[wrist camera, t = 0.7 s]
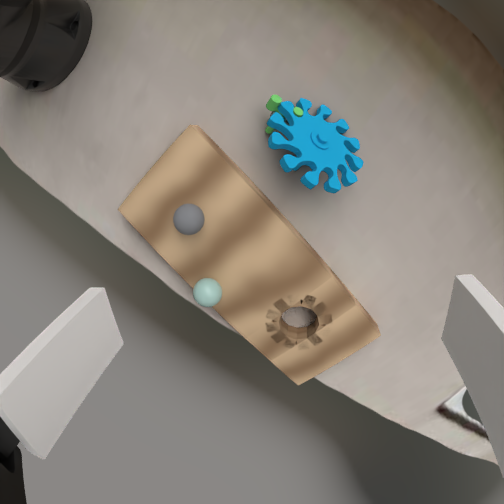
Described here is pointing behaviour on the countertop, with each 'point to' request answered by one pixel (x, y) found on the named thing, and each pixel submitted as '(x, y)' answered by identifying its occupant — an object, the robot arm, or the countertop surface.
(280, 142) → the gear
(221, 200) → the board
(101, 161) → the countertop surface
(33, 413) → the robot arm
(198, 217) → the grey ball
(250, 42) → the countertop surface
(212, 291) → the teal ball
